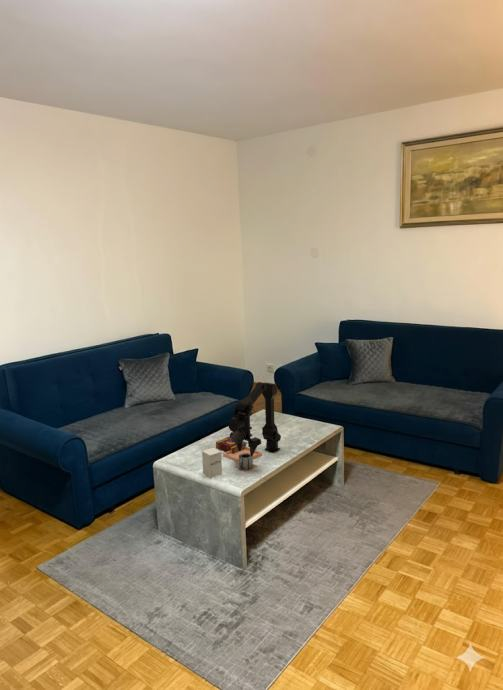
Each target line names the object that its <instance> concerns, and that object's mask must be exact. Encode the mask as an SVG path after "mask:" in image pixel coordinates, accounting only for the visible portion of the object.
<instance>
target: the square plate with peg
mask: <svg viewBox="0 0 503 690" xmlns="http://www.w3.org/2000/svg"><path fill="white" fill-rule="evenodd" d="M234 468H236V469H238V467H237V465H235V466H234ZM256 468H258V465H257V464H254V463H253V468H251V469H248V470H243V469H242V470H241V471H242V472H244V473H247V472H249V471H251V470H254V469H256Z"/></svg>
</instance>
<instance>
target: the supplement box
mask: <svg viewBox="0 0 503 690" xmlns="http://www.w3.org/2000/svg"><path fill="white" fill-rule="evenodd" d="M201 457H202V459H201V460H202V473H203V475H204V476H206V477H208V479H212V478H213V477H216V476H219V475H222V473H223V467H222V466H223V464H222V451H221V450H219V449H217V448H216V447H211V448H207V449H205V450H202V451H201Z"/></svg>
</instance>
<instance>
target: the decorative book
mask: <svg viewBox="0 0 503 690" xmlns="http://www.w3.org/2000/svg"><path fill="white" fill-rule="evenodd" d="M247 444H248V441H245V440H243V441H242V448H241V450H244V446H247ZM215 449H217V450H219V451H221V452H224V453H225V452H228V451H230V450H231V453H232V454H234V453H236V452H238V451H239V450H238V448H237V445H236V443H234V442H232V440H231V438H230V435H228V436H226V437H225V438H222V439H219V440H217V441H216V442H215Z"/></svg>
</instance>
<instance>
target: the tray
mask: <svg viewBox="0 0 503 690" xmlns="http://www.w3.org/2000/svg"><path fill="white" fill-rule="evenodd" d="M222 453H223V454H222V455H223V457H224V458H226V459H229V460H231V461H233V462H236V463H237V464H239V455H240V454H242V453H243V454H244V453H250V447H248V445H246V446H244V450H241V451H240V452H239V451H238V452H236V453H234V454H232V453H231V450H230V451H228V452H225V451H224V452H222ZM262 456H263V451H262V452H261V451H259V450H257V449H256V450H255V452H254V454H253V460H255V459H257V458H260V457H262Z"/></svg>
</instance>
